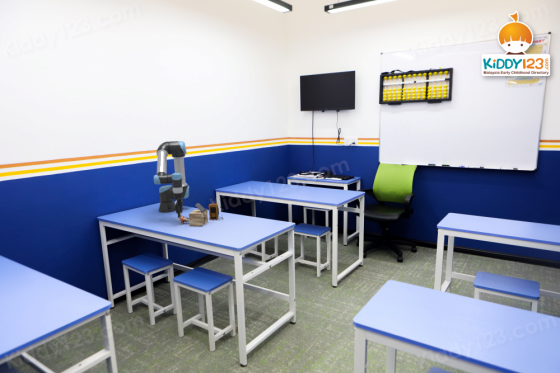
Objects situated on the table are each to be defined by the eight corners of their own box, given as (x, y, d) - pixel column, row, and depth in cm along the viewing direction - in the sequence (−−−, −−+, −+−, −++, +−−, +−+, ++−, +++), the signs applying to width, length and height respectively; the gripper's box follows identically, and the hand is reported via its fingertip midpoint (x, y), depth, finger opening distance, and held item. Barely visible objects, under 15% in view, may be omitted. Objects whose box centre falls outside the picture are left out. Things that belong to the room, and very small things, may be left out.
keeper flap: (197, 203, 283) (198, 202, 283) (204, 210, 284) (205, 209, 283) (194, 205, 278) (195, 204, 277) (202, 212, 278) (202, 211, 278)
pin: (180, 224, 282) (180, 217, 281) (183, 222, 288) (182, 215, 287) (197, 224, 280) (197, 217, 279) (200, 222, 286) (200, 215, 285)
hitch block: (196, 221, 291) (195, 207, 289) (208, 221, 289) (207, 207, 287) (189, 226, 277) (188, 211, 275) (202, 226, 276) (201, 212, 273)
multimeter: (225, 216, 303) (224, 193, 299) (222, 219, 293) (220, 196, 289) (208, 216, 304) (207, 193, 301) (205, 219, 294) (203, 196, 291)
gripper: (177, 190, 288) (179, 218, 292) (169, 193, 275) (172, 223, 279) (185, 190, 286) (187, 218, 291) (178, 194, 274) (181, 223, 278)
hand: (180, 220), depth 285 cm, fingers closed
